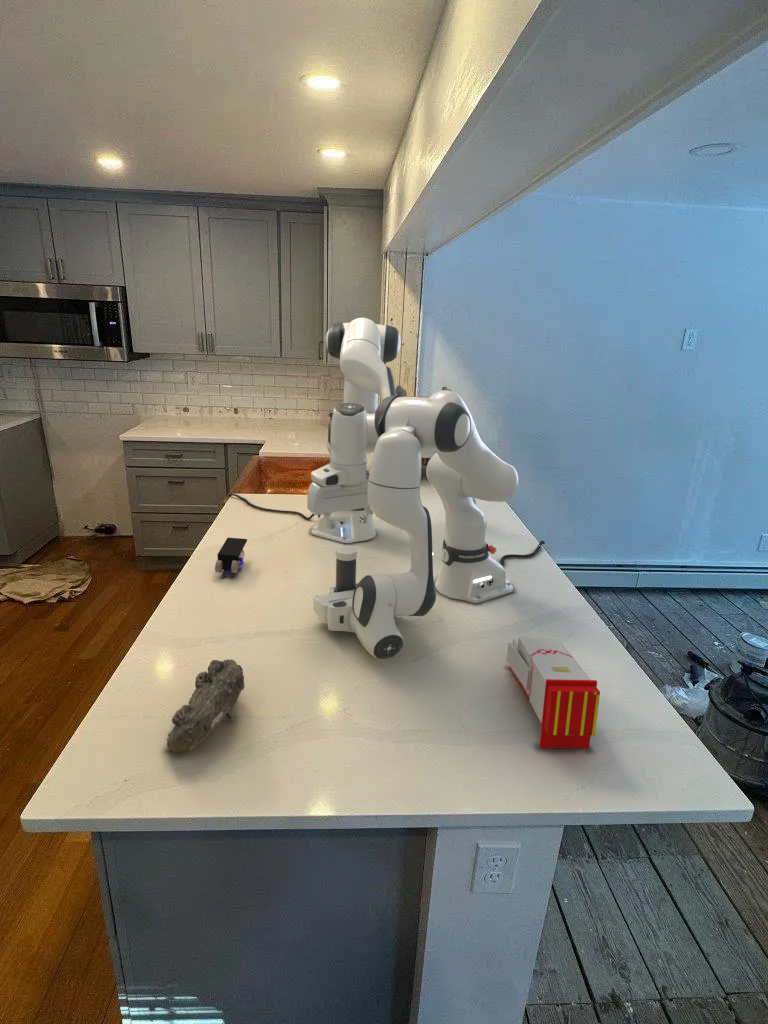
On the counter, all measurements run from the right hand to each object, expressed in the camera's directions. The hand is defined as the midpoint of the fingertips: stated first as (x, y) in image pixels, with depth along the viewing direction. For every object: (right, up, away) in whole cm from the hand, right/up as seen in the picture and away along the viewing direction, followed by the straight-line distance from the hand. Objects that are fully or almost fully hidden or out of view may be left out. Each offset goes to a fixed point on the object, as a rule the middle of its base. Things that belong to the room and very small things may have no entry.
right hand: (344, 587), depth 148 cm
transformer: (+28, +39, +127) cm, 135 cm away
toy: (+43, -19, -32) cm, 57 cm away
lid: (+1, +10, -4) cm, 11 cm away
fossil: (-22, -19, -40) cm, 50 cm away
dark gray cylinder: (0, -5, +1) cm, 5 cm away
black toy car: (-34, +3, +19) cm, 40 cm away
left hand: (+1, +16, -7) cm, 18 cm away
